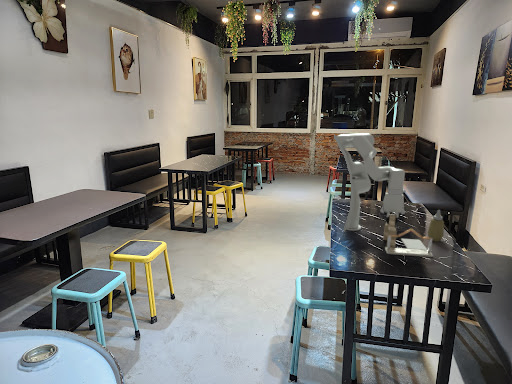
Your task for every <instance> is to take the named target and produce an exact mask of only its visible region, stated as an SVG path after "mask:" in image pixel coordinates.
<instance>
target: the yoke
mask: <svg viewBox="0 0 512 384" xmlns="http://www.w3.org/2000/svg"><path fill="white" fill-rule="evenodd" d="M395 217H396V216H395V213H394V214H393V213H390V214H389V218H390V219H389V224H387V222H386V221H385V224H384V227H383V228H384V229H383V241H386V244H387V243H388V235H398V234H397V232H398V231H397V228H396V227H395ZM396 241H397V237H391V243H390V247H391V248H396Z"/></svg>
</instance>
